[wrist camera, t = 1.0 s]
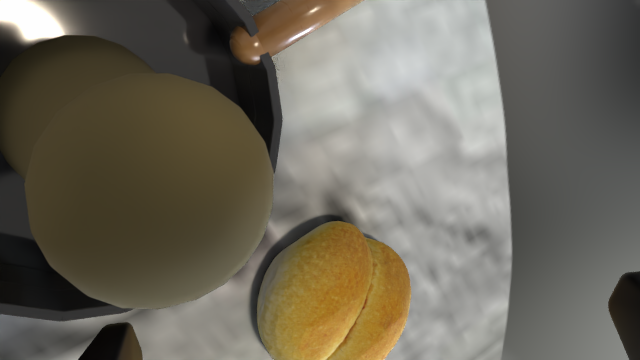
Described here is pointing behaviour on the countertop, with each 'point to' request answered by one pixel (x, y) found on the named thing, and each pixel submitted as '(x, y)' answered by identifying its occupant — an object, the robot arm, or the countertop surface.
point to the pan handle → (284, 26)
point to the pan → (163, 57)
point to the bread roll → (333, 297)
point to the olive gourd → (132, 172)
